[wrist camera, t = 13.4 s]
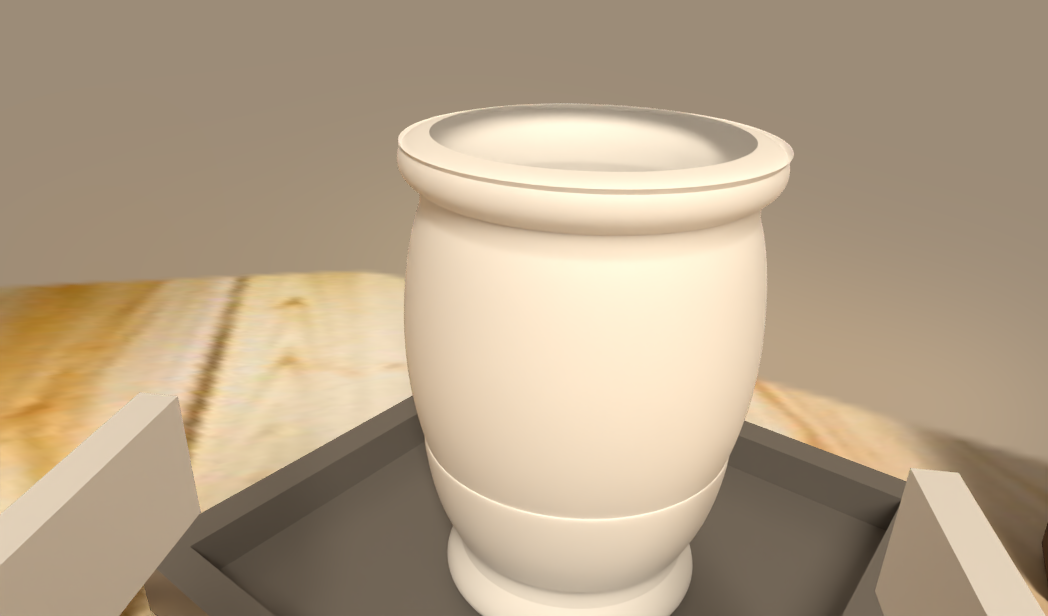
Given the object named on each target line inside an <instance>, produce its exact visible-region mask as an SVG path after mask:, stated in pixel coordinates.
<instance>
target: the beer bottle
mask: <svg viewBox="0 0 1048 616" xmlns="http://www.w3.org/2000/svg"><path fill="white" fill-rule="evenodd" d="M1042 547H1043V554H1044V560H1045V567H1046V574H1047V580H1048V524H1047V527H1046V530H1045V534H1044V537H1043V541H1042Z"/></svg>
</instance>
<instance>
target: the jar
mask: <svg viewBox="0 0 1048 616" xmlns="http://www.w3.org/2000/svg"><path fill="white" fill-rule="evenodd" d="M398 143H399V146H398V150H397V164H398V168H399V171H400V173H401V175H402V177H403V178H404V179H405V181H406V182H407V183H408V184H409V185H410V186H411V187H412V188H413V189H414V190H415V191H416V192H418V193H419V204H418V207H417V210H416V214H415V218H414V222H413V226H412V231H411V236H410V241H409V248H408V256H407V265H406V276H405V293H404V332H405V347H406V357H407V365H408V372H409V378H410V384H411V389H412V394H413V398H414V402H415V406H416V410H417V414H418V417H419V421H420V424H421V427H422V430H423V433H424V438H425V446H426V452H427V457H428V462H429V466H430V470H431V474H432V478H433V481H434V484H435V487H436V490H437V493H438V496H439V498H440V501H441V503H442V505H443V508H444V510H445V512H446V514H447V516H448V517H449V519H450V521H451V523H452V524H453V527H452V529H451V532H450V536H449V540H448V548H447V557H448V565H449V569H450V573H451V576H452V578H453V581H454V583H455V585H456V586H457V588H458V590H459V592H460V593H461V595H462V596H463V597H464V598H465V600H466V601H467V602H468V603H469V604H470V605H471V606H472V607H473V608H474V609H475V610H476V611H477V612H478V613H479V614H481V615H482V616H670V615H671V614H672V613H673V612H674V611H675V609H676V608H677V607H678V606H679V604H680V603H681V601H682V600H683V598H684V596H685V595H686V592H687V590H688V588H689V585H690V581H691V577H692V566H693V565H692V554H691V549H690V545H689V543H690V542H691V541H692V539H693V538H694V537H695V535H696V534H697V532H698V531H699V529H700V528H701V526H702V525H703V523H704V521H705V520H706V518H707V516H708V514H709V512H710V510H711V508H712V506H713V504H714V501H715V499H716V497H717V494H718V492H719V489H720V486H721V483H722V481H723V478H724V474H725V471H726V468H727V464H728V460H729V456H730V454H731V452H732V449H733V447H734V445H735V443H736V441H737V438H738V436H739V433H740V431H741V428H742V426H743V423H744V420H745V417H746V414H747V411H748V408H749V405H750V402H751V398H752V395H753V391H754V387H755V383H756V379H757V375H758V370H759V365H760V359H761V353H762V347H763V340H764V330H765V320H766V302H767V260H766V248H765V239H764V232H763V227H762V222H761V217H760V216H761V210H762V208H764V207H765V206H767V205H768V204H770V203H771V202H773V201H774V200H775V199H776V198H777V197H778V196H779V195H780V194H781V193H782V191H783V190H784V188H785V186H786V185H787V182H788V179H789V175H790V164H789V163H790V162H791V160H792V159H793V157H794V151H793V149H792V147H791V146H790V145H789V144H788V143H787V142H785V141H784V140H782V139H781V138H779V137H777V136H775V135H773V134H771V133H768V132H766V131H763V130H761V129H758V128H755V127H751V126H748V125H744V124H741V123H737V122H732V121H729V120H724V119H719V118H714V117H709V116H703V115H697V114H691V113H684V112H677V111H670V110H662V109H653V108H644V107H632V106H619V105H618V106H617V105H601V104H529V105H511V106H499V107H490V108H481V109H474V110H467V111H461V112H455V113H449V114H445V115H440V116H436V117H432V118H429V119H426V120H423V121H420V122H418V123H415V124H413V125H411V126H409V127H407V128H406V129H405V130H403V131H402V132H401V134H400V135H399V138H398Z"/></svg>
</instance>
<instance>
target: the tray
mask: <svg viewBox="0 0 1048 616" xmlns="http://www.w3.org/2000/svg"><path fill="white" fill-rule="evenodd" d="M905 485H906V481H904V480H901V479H898V478H896V477H893V476H890V475H888V474H885V473H882V472H880V471H877V470H874V469H872V468H869V467H866V466H864V465H861V464H858V463H856V462H853V461H850V460H848V459H845V458H842V457H840V456H837V455H834V454H832V453H829V452H826V451H824V450H821V449H818V448H816V447H813V446H810V445H808V444H805V443H802V442H800V441H797V440H794V439H792V438H789V437H786V436H784V435H781V434H778V433H776V432H773V431H771V430H768V429H765V428H763V427H760V426H757V425H755V424H752V423H749V422H747V421H744V423H743V426H742V428H741V431H740V433H739V436H738V438H737V441H736V443H735V445H734V447H733V449H732V452H731V454H730V456H729V460H728V464H727V468H726V471H725V474H724V478H723V481H722V483H721V486H720V489H719V492H718V494H717V497H716V499H715V501H714V504H713V506H712V508H711V510H710V512H709V514H708V516H707V518H706V520H705V521H704V523H703V525H702V526H701V528H700V529H699V531H698V532H697V534H696V535H695V537H694V538H693V539H692V541H691V542H690V543H689V545H690V549H691V554H692V565H693V566H692V577H691V581H690V585H689V588H688V590H687V592H686V595H685V596H684V598H683V600H682V601H681V603H680V604H679V606H678V607H677V608H676V609H675V611H674V612H673V613H672V614H671V615H670V616H884V614H883V612H882V609H881V606H880V603H879V601H878V598H877V595H876V592H875V589H876V586H877V582H878V579H879V575H880V572H881V568H882V565H883V561H884V558H885V554H886V551H887V547H888V544H889V541H890V537H891V534H892V530H893V527H894V523H895V520H896V516H897V513H898V509H899V506H900V502H901V499H902V495H903V492H904V489H905ZM452 527H453V524H452V523H451V521H450V519H449V517H448V516H447V514H446V512H445V510H444V508H443V505H442V503H441V501H440V498H439V496H438V493H437V490H436V487H435V484H434V481H433V478H432V474H431V470H430V466H429V462H428V457H427V452H426V446H425V438H424V433H423V430H422V427H421V424H420V421H419V417H418V414H417V410H416V406H415V402H414V398H413V396H411V397H409V398H407V399H406V400H404V401H402V402H400V403H398V404H397V405H395V406H393V407H391V408H390V409H388V410H386V411H384V412H382V413H381V414H379V415H377V416H375V417H373V418H372V419H370V420H368V421H366V422H364V423H363V424H361V425H359V426H357V427H355V428H354V429H352V430H350V431H348V432H346V433H345V434H343V435H341V436H339V437H337V438H336V439H334V440H332V441H330V442H328V443H327V444H325V445H323V446H321V447H319V448H318V449H316V450H314V451H312V452H310V453H309V454H307V455H305V456H303V457H302V458H300V459H298V460H296V461H294V462H293V463H291V464H289V465H287V466H285V467H284V468H282V469H280V470H278V471H276V472H275V473H273V474H271V475H269V476H267V477H266V478H264V479H262V480H260V481H258V482H257V483H255V484H253V485H251V486H249V487H248V488H246V489H244V490H242V491H240V492H239V493H237V494H235V495H233V496H231V497H230V498H228V499H226V500H224V501H223V502H221V503H219V504H217V505H215V506H214V507H212V508H210V509H208V510H206V511H205V512H203V513H201V514H199V515H198V516H197V518H196V519H195V520H194V522H193V523H192V524H191V525H190V527H189V528H188V529H187V530H186V532H185V533H184V534H183V535H182V537H181V538H180V539H179V541H178V542H177V543H176V544H175V546H174V547H173V548H172V549H171V551H170V552H169V553H168V554H167V556H166V557H165V558H164V560H163V561H162V562H161V563H160V565H159V566H158V567H157V568H156V570H155V571H154V572H153V573H152V575H151V576H150V577H149V579H148V580H147V581H146V582H145V584H144V587H145V591H146V595H147V599H148V603H149V607H150V610H151V611H152V612H153V613H154V614H155V615H156V616H482V615H481V614H479V613H478V612H477V611H476V610H475V609H474V608H473V607H472V606H471V605H470V604H469V603H468V602H467V601H466V600H465V598H464V597H463V596H462V595H461V593H460V592H459V590H458V588H457V586H456V585H455V583H454V581H453V578H452V576H451V573H450V569H449V565H448V557H447V548H448V540H449V536H450V532H451V529H452Z"/></svg>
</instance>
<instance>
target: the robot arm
mask: <svg viewBox="0 0 1048 616" xmlns="http://www.w3.org/2000/svg"><path fill="white" fill-rule="evenodd" d="M200 513H201V511H200V506H199V501H198V496H197V491H196V486H195V481H194V476H193V471H192V466H191V461H190V456H189V451H188V446H187V441H186V436H185V431H184V426H183V420H182V415H181V410H180V405H179V400H178V396H172V395H161V394H151V393H141V392H140V393H138V394H137V395H136V396H135V397H134V398H133V399H132V400H130V401H129V402H128V403H127V404H126V405H125V406H124V407H122V408H121V409H120V410H119V411H118V412H117V413H116V414H114V415H113V416H112V417H111V418H110V419H109V420H108V421H106V422H105V423H104V424H103V425H102V426H101V427H100V428H98V429H97V430H96V431H95V432H94V433H93V434H92V435H90V436H89V437H88V438H87V439H86V440H85V441H83V442H82V443H81V444H80V445H79V446H78V447H77V448H75V449H74V450H73V451H72V452H71V453H70V454H69V455H67V456H66V457H65V458H64V459H63V460H62V461H61V462H59V463H58V464H57V465H56V466H55V467H54V468H53V469H51V470H50V471H49V472H48V473H47V474H46V475H45V476H43V477H42V478H41V479H40V480H39V481H38V482H37V483H35V484H34V485H33V486H32V487H31V488H30V489H29V490H27V491H26V492H25V493H24V494H23V495H22V496H21V497H19V498H18V499H17V500H16V501H15V502H14V503H13V504H11V505H10V506H9V507H8V508H7V509H6V510H5V511H3V512H2V513H1V514H0V616H119V615H120V614H121V613H122V611H123V610H124V609H125V608H126V606H127V605H128V604H129V603H130V601H131V600H132V599H133V598H134V596H135V595H136V594H137V592H138V591H139V590H140V589H141V587H142V586H143V585H144V584H145V582H146V581H147V580H148V579H149V577H150V576H151V575H152V573H153V572H154V571H155V570H156V568H157V567H158V566H159V565H160V563H161V562H162V561H163V560H164V558H165V557H166V556H167V554H168V553H169V552H170V551H171V549H172V548H173V547H174V546H175V544H176V543H177V542H178V541H179V539H180V538H181V537H182V535H183V534H184V533H185V532H186V530H187V529H188V528H189V527H190V525H191V524H192V523H193V522H194V520H195V519H196V518H197V516H198V515H199V514H200ZM875 592H876V595H877V598H878V601H879V603H880V606H881V609H882V612H883V614H884V616H1046V615H1045V614H1044V612H1043V611H1042V609H1041V607H1040V606H1039V604H1038V602H1037V601H1036V599H1035V597H1034V596H1033V594H1032V592H1031V591H1030V589H1029V587H1028V586H1027V584H1026V583H1025V581H1024V579H1023V578H1022V576H1021V574H1020V573H1019V571H1018V569H1017V568H1016V566H1015V564H1014V563H1013V561H1012V560H1011V558H1010V556H1009V555H1008V553H1007V551H1006V550H1005V548H1004V546H1003V545H1002V543H1001V541H1000V540H999V538H998V537H997V535H996V533H995V532H994V530H993V528H992V527H991V525H990V523H989V522H988V520H987V518H986V517H985V515H984V514H983V512H982V510H981V509H980V507H979V505H978V504H977V502H976V500H975V499H974V497H973V495H972V494H971V492H970V491H969V489H968V487H967V486H966V484H965V482H964V481H963V479H962V477H961V476H960V474H959V473H957V472H946V471H936V470H926V469H916V468H910V471H909V475H908V478H907V482H906V485H905V489H904V492H903V495H902V499H901V502H900V506H899V509H898V513H897V516H896V520H895V523H894V527H893V530H892V534H891V537H890V541H889V544H888V547H887V551H886V554H885V558H884V561H883V565H882V568H881V572H880V575H879V579H878V582H877V586H876V589H875Z"/></svg>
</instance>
